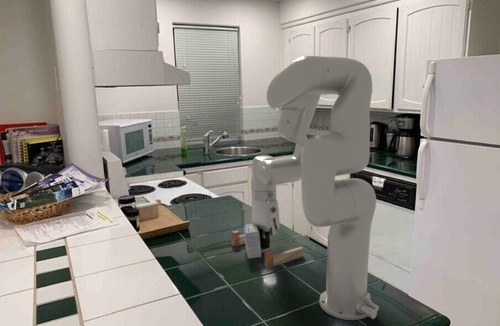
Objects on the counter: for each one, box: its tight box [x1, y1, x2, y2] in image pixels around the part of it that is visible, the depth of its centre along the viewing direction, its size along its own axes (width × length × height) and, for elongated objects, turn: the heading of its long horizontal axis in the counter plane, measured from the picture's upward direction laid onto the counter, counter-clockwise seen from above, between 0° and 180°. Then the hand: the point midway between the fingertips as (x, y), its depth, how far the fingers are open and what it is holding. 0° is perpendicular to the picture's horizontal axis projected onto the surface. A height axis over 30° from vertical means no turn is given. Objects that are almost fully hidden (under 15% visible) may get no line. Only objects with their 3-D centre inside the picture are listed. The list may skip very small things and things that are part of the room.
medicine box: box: [243, 223, 262, 259], centre depth 119 cm, size 8×4×9 cm, turn 6°
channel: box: [231, 229, 304, 270], centre depth 121 cm, size 21×14×5 cm, turn 34°
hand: (264, 247), depth 121 cm, fingers closed
